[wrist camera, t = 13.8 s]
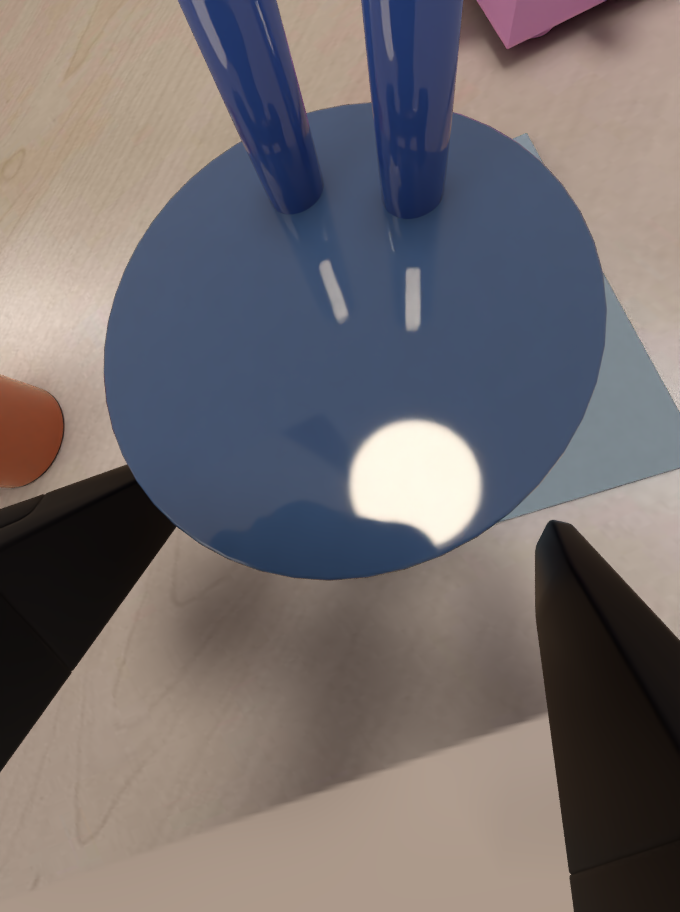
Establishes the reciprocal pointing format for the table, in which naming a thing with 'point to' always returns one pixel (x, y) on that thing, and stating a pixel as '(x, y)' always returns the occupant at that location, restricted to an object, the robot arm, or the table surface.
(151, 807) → the table surface
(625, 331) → the blue mat
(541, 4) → the teapot
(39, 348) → the table surface
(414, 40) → the blue spoon jar
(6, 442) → the red spoon jar
